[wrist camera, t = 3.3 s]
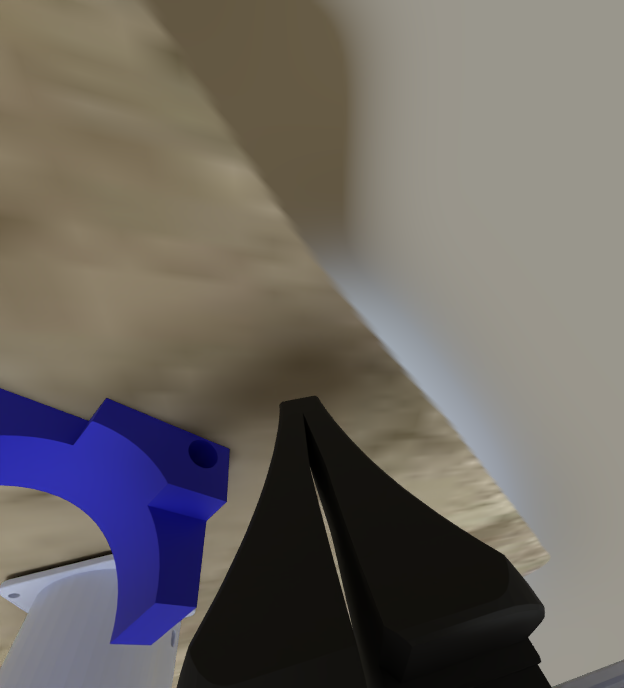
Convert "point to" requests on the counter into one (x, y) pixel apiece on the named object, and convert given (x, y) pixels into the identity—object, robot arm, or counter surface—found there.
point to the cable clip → (125, 497)
